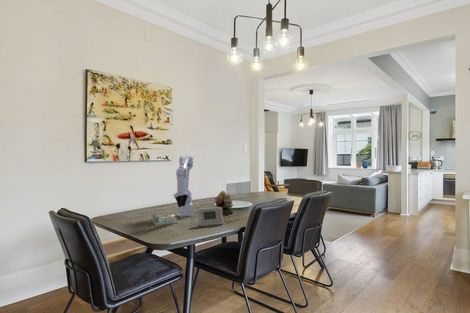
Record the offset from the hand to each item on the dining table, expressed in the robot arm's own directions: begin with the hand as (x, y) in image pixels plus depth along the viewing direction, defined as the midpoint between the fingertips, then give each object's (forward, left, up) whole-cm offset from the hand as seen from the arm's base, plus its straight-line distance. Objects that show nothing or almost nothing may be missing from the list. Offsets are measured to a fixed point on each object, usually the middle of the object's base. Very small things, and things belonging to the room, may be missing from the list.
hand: (181, 206), depth 193 cm
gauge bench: (+11, 0, -9) cm, 14 cm away
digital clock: (-14, +18, -10) cm, 25 cm away
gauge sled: (+8, 0, -8) cm, 11 cm away
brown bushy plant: (-36, -12, -10) cm, 39 cm away
